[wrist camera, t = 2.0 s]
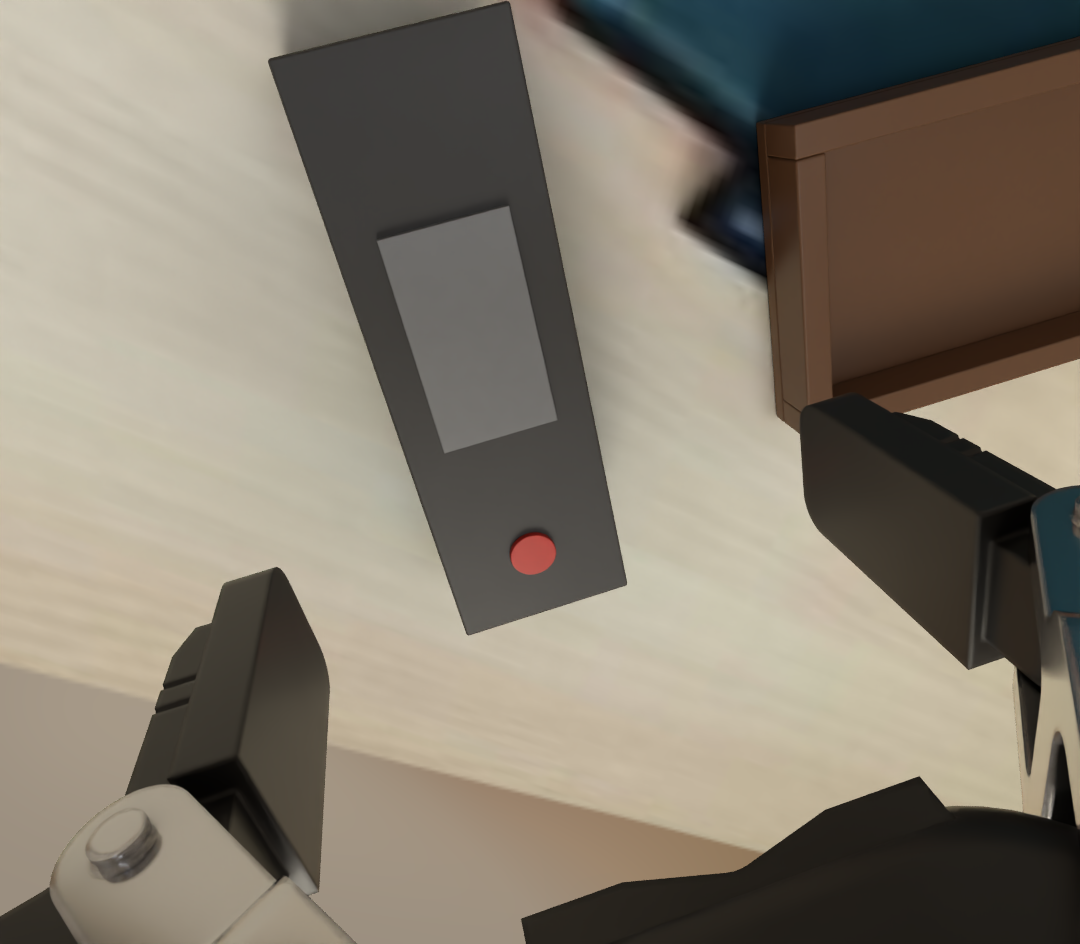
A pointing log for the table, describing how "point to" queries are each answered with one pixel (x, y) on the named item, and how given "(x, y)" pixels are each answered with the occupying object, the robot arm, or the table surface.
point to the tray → (925, 234)
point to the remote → (462, 301)
